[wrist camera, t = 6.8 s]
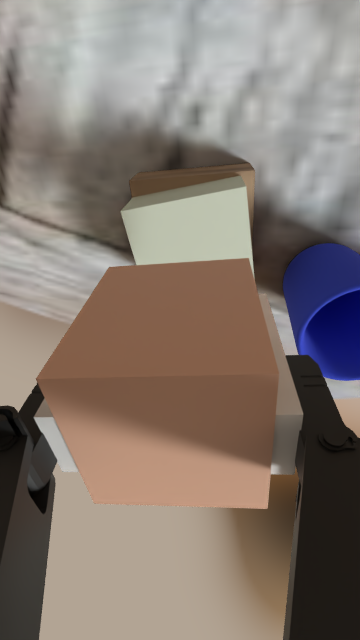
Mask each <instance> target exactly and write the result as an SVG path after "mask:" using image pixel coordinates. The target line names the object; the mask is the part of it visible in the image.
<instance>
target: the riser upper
mask: <svg viewBox="0 0 360 640" xmlns="http://www.w3.org/2000/svg"><path fill="white" fill-rule="evenodd" d="M120 212H121V215H122V219H123V222H124V225H125V229H126V232H127V235H128V239H129V242H130V245H131V249H132V252H133V255H134V259H135V262H136V265H148V264H164V263H179V262H194V261H209V260H224V259H240V258H249V261H250V265H251V269H252V272H253V276H254V268H253V257H252V245H251V234H250V223H249V212H248V200H247V189H246V185H245V183H244V181H243V179H242V177H241V175H240V176H235V177H230V178H225V179H220V180H215V181H210V182H206V183H201V184H196V185H191V186H186V187H181V188H176V189H171V190H166V191H162V192H157V193H152V194H147V195H142V196H137V197H133V198H132V199H131V200H130V201H129V202H128V203H127V205H126V206H125V207H124V208H123V209H122V210H121V211H120ZM254 280H255V279H254Z"/></svg>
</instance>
